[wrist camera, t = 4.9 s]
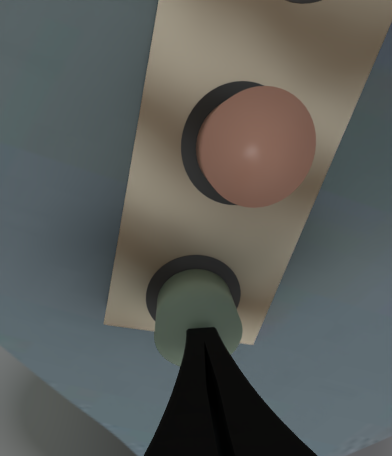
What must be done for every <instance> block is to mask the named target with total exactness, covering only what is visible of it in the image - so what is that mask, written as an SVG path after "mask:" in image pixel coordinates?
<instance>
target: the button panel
mask: <svg viewBox="0 0 392 456" xmlns="http://www.w3.org/2000/svg"><path fill="white" fill-rule="evenodd" d="M391 22H392V0H159V2H158V8H157V13H156V19H155V25H154V31H153V37H152V43H151V49H150V55H149V61H148V66H147V72H146V78H145V84H144V90H143V96H142V102H141V108H140V113H139V119H138V125H137V131H136V137H135V143H134V149H133V155H132V161H131V166H130V172H129V178H128V184H127V190H126V196H125V202H124V208H123V213H122V219H121V225H120V231H119V237H118V243H117V249H116V255H115V261H114V266H113V272H112V278H111V284H110V290H109V296H108V302H107V308H106V313H105V319H104V325H111V326H119V327H126V328H133V329H141V330H148V331H155V321H156V310H157V299H158V294H159V291H160V289H161V287H162V286H163V284H164V283H165V282H166V281H167V280H168V279H169V278H170V277H172V276H173V275H175V274H177V273H179V272H182V271H185V270H190V269H203V270H207V271H210V272H213V273H215V274H217V275H218V276H220V277H221V278H222V279H223V280H224V281H225V282H226V284H227V286H228V287H229V290H230V293H231V296H232V298H233V301H234V304H235V306H236V309H237V312H238V314H239V317H240V320H241V323H242V328H243V332H242V338H241V341H240V343H243V344H250V345H253V344H254V342H255V339H256V337H257V335H258V332H259V330H260V328H261V325H262V323H263V321H264V318H265V316H266V314H267V311H268V309H269V307H270V304H271V302H272V300H273V297H274V295H275V293H276V290H277V288H278V286H279V283H280V281H281V279H282V276H283V274H284V272H285V269H286V267H287V265H288V262H289V260H290V258H291V255H292V253H293V251H294V248H295V246H296V244H297V241H298V239H299V237H300V234H301V232H302V230H303V227H304V225H305V223H306V220H307V218H308V216H309V213H310V211H311V209H312V206H313V204H314V202H315V199H316V197H317V195H318V192H319V190H320V188H321V185H322V183H323V181H324V178H325V176H326V174H327V171H328V169H329V167H330V164H331V162H332V160H333V157H334V155H335V153H336V150H337V148H338V146H339V143H340V141H341V139H342V136H343V134H344V132H345V129H346V127H347V125H348V122H349V120H350V118H351V115H352V113H353V111H354V108H355V106H356V104H357V101H358V99H359V97H360V95H361V92H362V90H363V88H364V85H365V83H366V81H367V78H368V76H369V74H370V71H371V69H372V67H373V64H374V62H375V60H376V57H377V55H378V53H379V50H380V48H381V46H382V43H383V41H384V39H385V36H386V34H387V32H388V29H389V27H390V25H391ZM256 86H273V87H277V88H281V89H284V90H286V91H288V92H290V93H291V94H293V95H295V96H296V97H297V98H298V99H299V100H300V101H301V102H302V103H303V104H304V105H305V107H306V108H307V110H308V112H309V113H310V115H311V118H312V120H313V123H314V127H315V133H316V149H315V155H314V159H313V162H312V165H311V168H310V170H309V172H308V174H307V175H306V177H305V179H304V180H303V182H302V183H301V184H300V185H299V187H298V188H297V189H296V190H295V191H294V192H292V193H291V194H290V195H289V196H287V197H286V198H284V199H283V200H281V201H279V202H277V203H275V204H272V205H269V206H265V207H258V208H249V207H243V206H239V205H236V204H234V203H232V202H229V201H228V200H226V199H225V198H223V197H222V196H221V195H220V194H219V193H218V192H217V191H216V190H215V189H214V188H213V186H212V185H211V184H210V183H209V181H208V180H207V179H206V178H205V176H204V175H203V173H202V171H201V169H200V167H199V164H198V161H197V156H196V141H197V136H198V133H199V130H200V128H201V125H202V123H203V122H204V120H205V118H206V117H207V116H208V115H209V113H210V112H211V111H212V110H213V109H215V108H216V107H217V106H219V105H220V104H221V103H223V102H224V101H226V100H227V99H229V98H230V97H232V96H233V95H235V94H237V93H239V92H240V91H243V90H245V89H248V88H252V87H256Z"/></svg>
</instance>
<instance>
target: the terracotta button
mask: <svg viewBox="0 0 392 456" xmlns="http://www.w3.org/2000/svg"><path fill="white" fill-rule="evenodd" d="M315 149H316V133H315V127H314V123H313V120H312V118H311V115H310V113H309V112H308V110H307V108H306V107H305V105H304V104H303V103H302V102H301V101H300V100H299V99H298V98H297V97H296V96H295V95H293V94H291V93H290V92H288V91H286V90H284V89H281V88H277V87H273V86H256V87H252V88H248V89H245V90H243V91H240V92H239V93H237V94H235V95H233V96H232V97H230V98H229V99H227V100H226V101H224V102H223V103H221V104H220V105H219V106H217V107H216V108H215V109H213V110H212V111H211V112H210V113H209V115H208V116H207V117H206V118H205V120H204V122H203V123H202V125H201V128H200V130H199V133H198V136H197V141H196V156H197V161H198V164H199V167H200V169H201V171H202V173H203V175H204V176H205V178H206V179H207V180H208V181H209V183H210V184H211V185H212V186H213V188H214V189H215V190H216V191H217V192H218V193H219V194H220V195H221V196H222V197H223V198H225V199H226V200H228V201H229V202H232V203H234V204H236V205H239V206H243V207H249V208H258V207H265V206H269V205H272V204H275V203H277V202H279V201H281V200H283V199H284V198H286V197H287V196H289V195H290V194H291V193H292V192H294V191H295V190H296V189H297V188H298V187H299V185H300V184H301V183H302V182H303V180H304V179H305V177H306V175H307V174H308V172H309V170H310V168H311V165H312V162H313V159H314V155H315Z"/></svg>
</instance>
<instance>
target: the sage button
mask: <svg viewBox="0 0 392 456" xmlns="http://www.w3.org/2000/svg"><path fill="white" fill-rule="evenodd" d="M206 327H215V328H216V329H217V331H218V333H219V336H220V337H221V339H222V341H223V343H224V345H225V347H226V348H227V350H228V352H229V353H230V355H231V354H232V353H233V352H234V351H235V350H236V348H237V347H238V345H239V343H240V341H241V338H242V332H243V328H242V323H241V320H240V317H239V314H238V312H237V309H236V306H235V304H234V301H233V298H232V296H231V293H230V290H229V287H228V286H227V284H226V282H225V281H224V280H223V279H222V278H221V277H220V276H218V275H217V274H215V273H213V272H210V271H207V270H203V269H190V270H185V271H182V272H179V273H177V274H175V275H173V276H172V277H170V278H169V279H168V280H167V281H166V282H165V283H164V284H163V286H162V287H161V289H160V291H159V294H158V299H157V310H156V321H155V331H154V340H155V345H156V347H157V349H158V351H159V353H160V354H161V355H162V356H163V357H164V358H165V359H166V360H168V361H169V362H171V363H173V364H175V365H178V366H181V362H182V358H183V354H184V349H185V344H186V330H188V329H190V328H206Z"/></svg>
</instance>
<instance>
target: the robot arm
mask: <svg viewBox="0 0 392 456" xmlns="http://www.w3.org/2000/svg"><path fill="white" fill-rule="evenodd" d="M144 456H317V455H316V454H315V453H314V452H313V451H312V450H311V449H310V448H309V447H308V446H307V445H305V444H304V443H303V442H302V441H301V440H300V439H299V438H298V437H297V436H296V435H295V434H294V433H293V432H292V431H291V430H290V429H289V428H288V427H287V426H286V425H285V424H284V423H283V422H282V421H281V420H280V419H279V417H278V416H277V415H276V414H275V413H274V412H273V411H272V410H271V409H270V407H269V406H268V405H267V404H266V403H265V402H264V400H263V399H262V398H261V397H260V396H259V394H258V393H257V392H256V391H255V389H254V388H253V387H252V386H251V384H250V383H249V382H248V380H247V379H246V377H245V376H244V375H243V373H242V372H241V370H240V369H239V367H238V366H237V364H236V363H235V361H234V360H233V358H232V357H231V355H230V353H229V352H228V350H227V348H226V347H225V345H224V343H223V341H222V339H221V337H220V336H219V333H218V331H217V329H216V328H215V327H206V328H190V329H188V330H186V344H185V349H184V354H183V358H182V362H181V366H180V370H179V373H178V376H177V380H176V383H175V386H174V389H173V392H172V394H171V397H170V400H169V402H168V405H167V407H166V410H165V412H164V414H163V417H162V419H161V421H160V424H159V426H158V428H157V430H156V432H155V435H154V437H153V439H152V441H151V443H150V445H149V447H148V448H147V450H146V452H145V454H144Z"/></svg>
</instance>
